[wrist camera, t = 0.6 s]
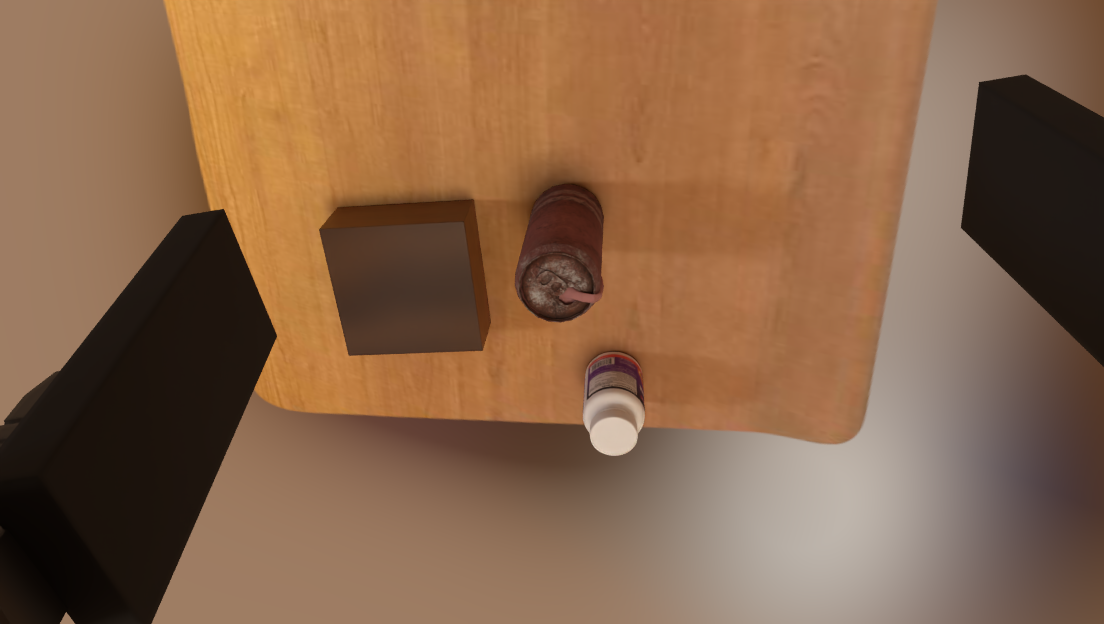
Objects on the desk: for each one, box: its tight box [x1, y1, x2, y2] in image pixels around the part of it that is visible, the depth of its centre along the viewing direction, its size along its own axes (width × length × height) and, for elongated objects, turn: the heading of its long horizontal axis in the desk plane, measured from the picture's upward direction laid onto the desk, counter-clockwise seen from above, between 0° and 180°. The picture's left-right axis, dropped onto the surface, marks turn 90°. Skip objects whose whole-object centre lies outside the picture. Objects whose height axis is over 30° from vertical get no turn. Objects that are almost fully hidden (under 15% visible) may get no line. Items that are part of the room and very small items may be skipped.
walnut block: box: [319, 200, 491, 356], centre depth 70 cm, size 12×12×5 cm
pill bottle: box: [583, 352, 645, 456], centre depth 72 cm, size 5×5×10 cm
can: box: [515, 184, 604, 322], centre depth 63 cm, size 6×6×14 cm
